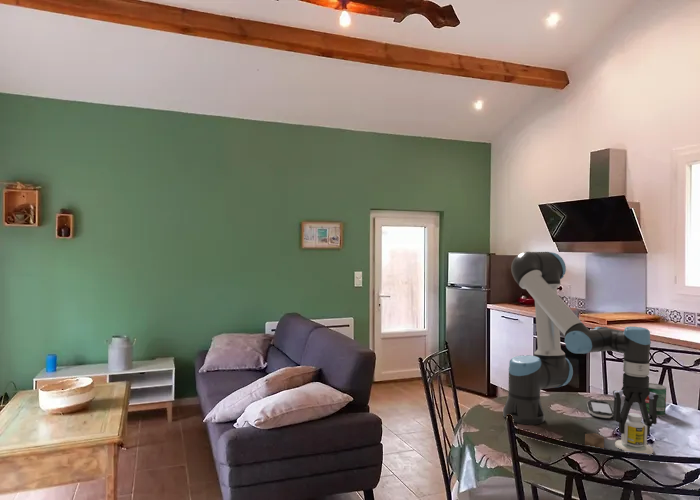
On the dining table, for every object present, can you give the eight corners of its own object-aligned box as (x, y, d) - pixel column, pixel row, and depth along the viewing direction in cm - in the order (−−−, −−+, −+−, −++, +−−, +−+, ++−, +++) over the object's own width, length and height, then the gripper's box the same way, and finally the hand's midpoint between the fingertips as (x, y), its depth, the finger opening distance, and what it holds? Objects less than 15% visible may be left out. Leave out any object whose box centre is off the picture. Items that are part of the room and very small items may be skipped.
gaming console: (586, 403, 211) (586, 398, 211) (609, 406, 208) (609, 400, 207) (589, 418, 193) (589, 412, 193) (615, 421, 190) (615, 415, 190)
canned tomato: (638, 411, 201) (639, 384, 201) (649, 408, 205) (650, 382, 205) (659, 417, 194) (659, 389, 194) (669, 414, 198) (670, 387, 198)
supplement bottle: (636, 448, 160) (637, 418, 160) (620, 442, 165) (621, 413, 165) (646, 445, 163) (647, 416, 162) (631, 439, 167) (631, 411, 167)
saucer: (623, 454, 159) (623, 451, 159) (609, 440, 170) (609, 438, 170) (660, 456, 158) (660, 453, 158) (643, 442, 169) (643, 440, 169)
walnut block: (593, 450, 162) (593, 438, 162) (584, 445, 166) (585, 434, 165) (603, 449, 163) (604, 437, 163) (594, 444, 166) (595, 433, 166)
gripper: (611, 375, 161) (609, 446, 161) (671, 378, 159) (669, 450, 159) (602, 369, 168) (600, 437, 168) (659, 372, 166) (657, 440, 166)
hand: (633, 443), depth 164 cm, fingers closed on supplement bottle, 5 cm apart
